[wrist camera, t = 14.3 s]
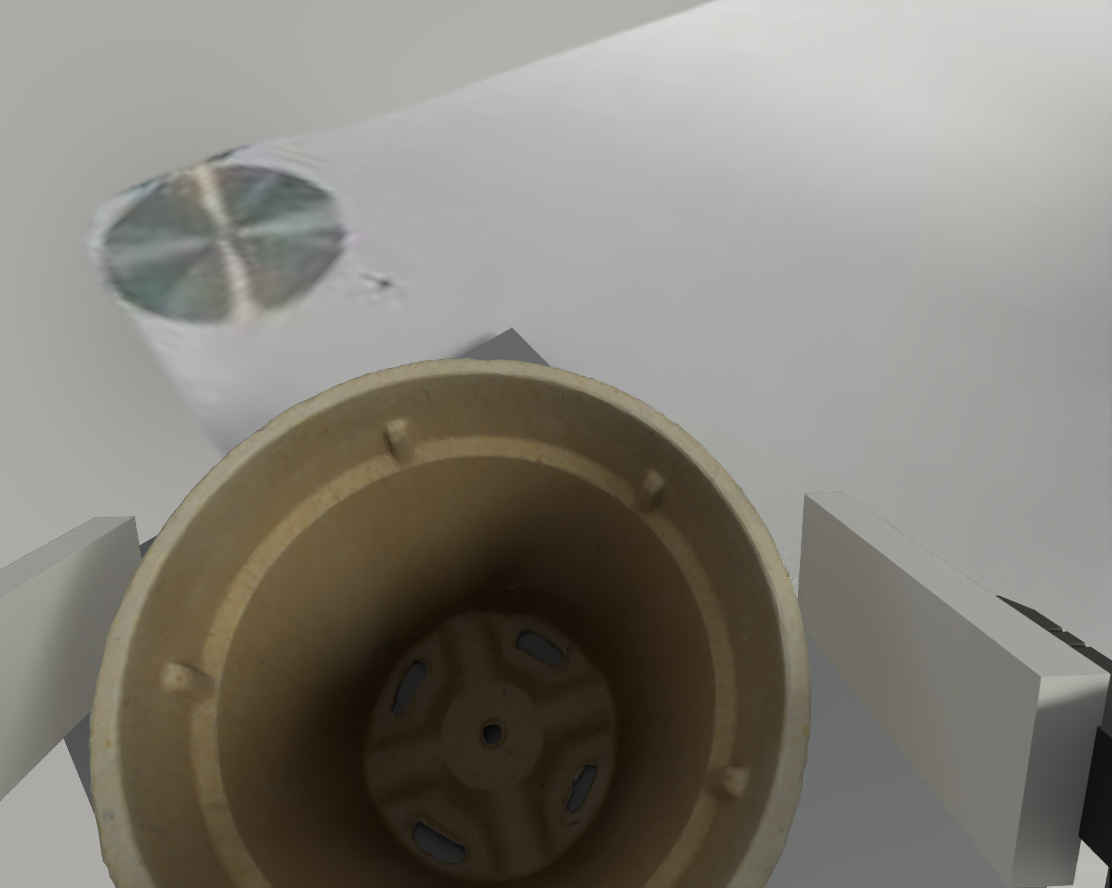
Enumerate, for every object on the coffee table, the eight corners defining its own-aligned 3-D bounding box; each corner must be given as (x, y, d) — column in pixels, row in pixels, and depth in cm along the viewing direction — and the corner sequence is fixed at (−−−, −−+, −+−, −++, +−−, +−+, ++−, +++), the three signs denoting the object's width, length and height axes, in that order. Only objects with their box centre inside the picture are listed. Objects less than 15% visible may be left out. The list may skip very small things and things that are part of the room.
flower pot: (687, 564, 19) (775, 369, 12) (705, 1001, 14) (876, 1133, 7) (345, 544, 19) (222, 340, 12) (246, 967, 14) (-66, 1060, 7)
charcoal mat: (1034, 875, 16) (1055, 875, 15) (456, 1639, 11) (450, 1689, 10) (512, 343, 24) (512, 327, 24) (34, 627, 19) (14, 618, 18)
